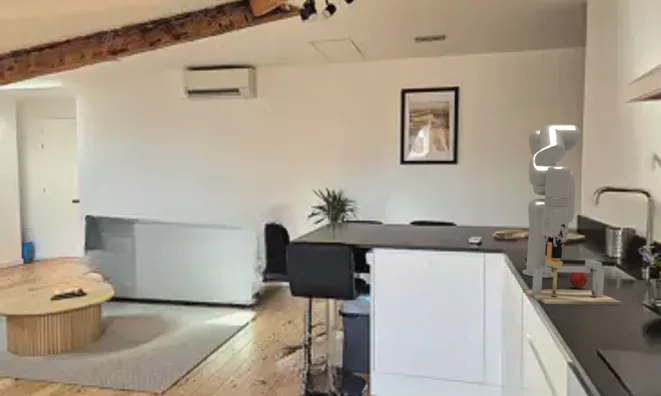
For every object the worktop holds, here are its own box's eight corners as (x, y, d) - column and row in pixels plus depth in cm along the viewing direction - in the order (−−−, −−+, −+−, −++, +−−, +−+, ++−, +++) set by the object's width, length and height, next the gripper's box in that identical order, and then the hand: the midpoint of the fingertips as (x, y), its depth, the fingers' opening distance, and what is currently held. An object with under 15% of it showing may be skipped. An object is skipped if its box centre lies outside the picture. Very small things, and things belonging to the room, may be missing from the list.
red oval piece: (567, 288, 194) (568, 267, 194) (571, 286, 199) (572, 265, 198) (584, 291, 191) (585, 269, 190) (587, 289, 195) (589, 267, 195)
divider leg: (544, 290, 180) (547, 241, 179) (552, 291, 181) (556, 241, 180) (551, 294, 176) (555, 243, 174) (560, 294, 176) (563, 243, 175)
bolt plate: (522, 291, 187) (523, 288, 187) (592, 292, 189) (592, 289, 189) (545, 303, 171) (545, 300, 171) (620, 304, 173) (620, 301, 173)
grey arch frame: (531, 293, 180) (534, 258, 179) (598, 294, 182) (600, 260, 181) (538, 297, 175) (540, 261, 174) (606, 298, 177) (609, 262, 177)
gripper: (534, 201, 185) (530, 252, 186) (558, 204, 169) (555, 261, 170) (554, 201, 186) (551, 253, 187) (581, 205, 169) (577, 261, 170)
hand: (553, 256), depth 178 cm, fingers open, 3 cm apart
